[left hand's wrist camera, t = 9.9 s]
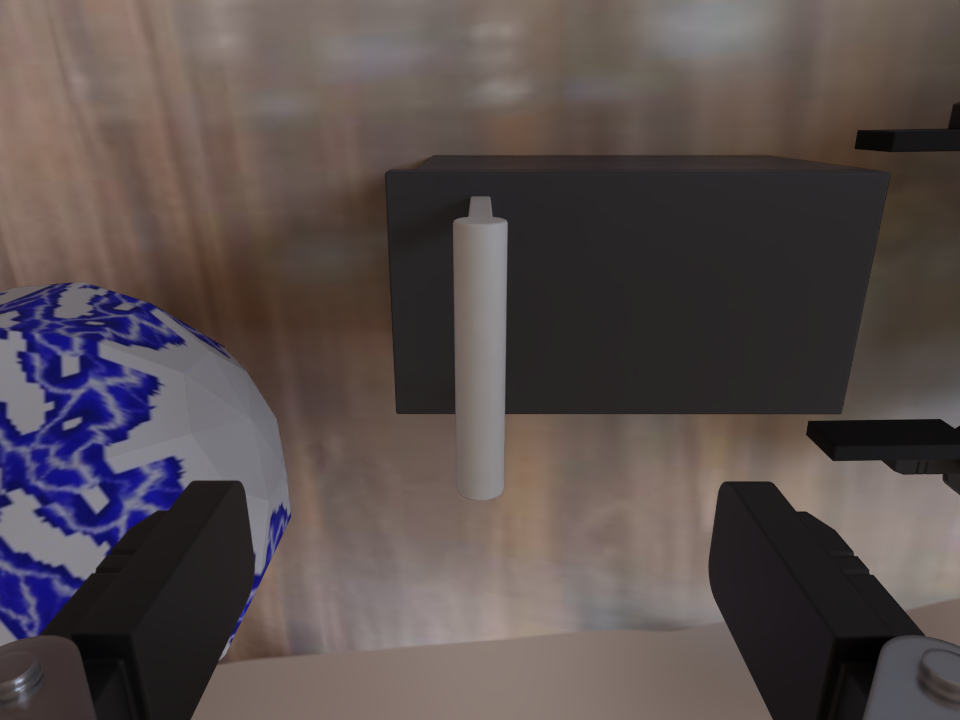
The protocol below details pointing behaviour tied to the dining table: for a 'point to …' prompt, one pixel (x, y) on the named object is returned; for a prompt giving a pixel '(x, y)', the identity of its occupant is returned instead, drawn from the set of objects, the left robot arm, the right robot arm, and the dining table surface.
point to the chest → (624, 163)
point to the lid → (623, 294)
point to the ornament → (115, 439)
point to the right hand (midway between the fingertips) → (843, 302)
